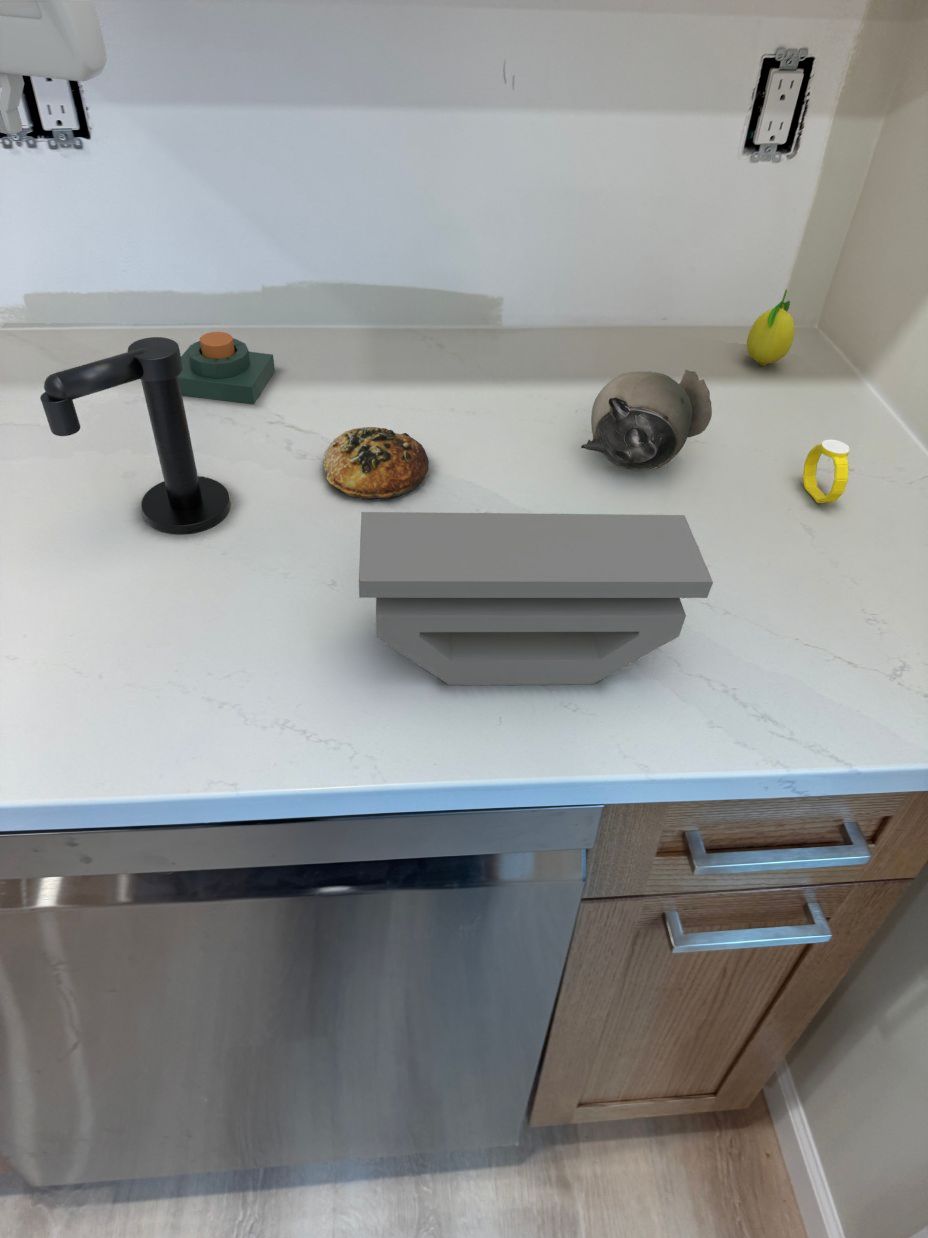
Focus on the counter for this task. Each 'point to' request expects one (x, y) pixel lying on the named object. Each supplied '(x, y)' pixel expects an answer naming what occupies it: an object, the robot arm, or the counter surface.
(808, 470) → the watch
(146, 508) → the faucet base
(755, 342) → the lemon
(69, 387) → the spout
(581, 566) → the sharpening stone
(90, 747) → the counter surface
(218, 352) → the tap button
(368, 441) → the bread roll
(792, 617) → the counter surface
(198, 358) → the control block
